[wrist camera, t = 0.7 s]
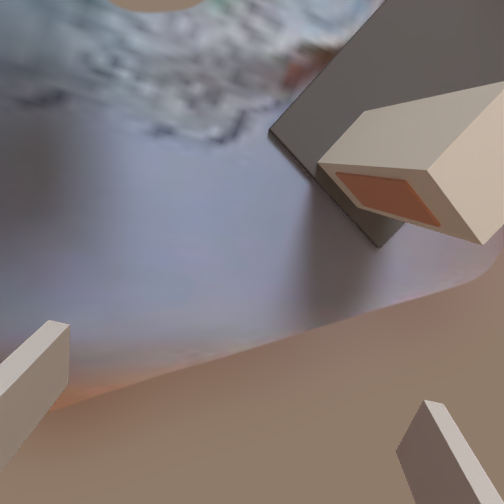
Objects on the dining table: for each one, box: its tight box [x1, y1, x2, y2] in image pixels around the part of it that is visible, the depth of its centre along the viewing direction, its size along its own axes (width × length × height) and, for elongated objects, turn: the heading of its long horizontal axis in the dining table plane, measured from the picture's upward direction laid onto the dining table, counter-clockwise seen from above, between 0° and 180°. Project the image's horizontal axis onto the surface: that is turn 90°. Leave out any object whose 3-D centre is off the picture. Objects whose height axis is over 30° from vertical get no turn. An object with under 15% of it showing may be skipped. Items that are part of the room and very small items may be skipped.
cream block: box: [317, 81, 504, 245], centre depth 25 cm, size 6×6×14 cm
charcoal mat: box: [269, 0, 504, 248], centre depth 31 cm, size 24×16×1 cm, turn 136°
